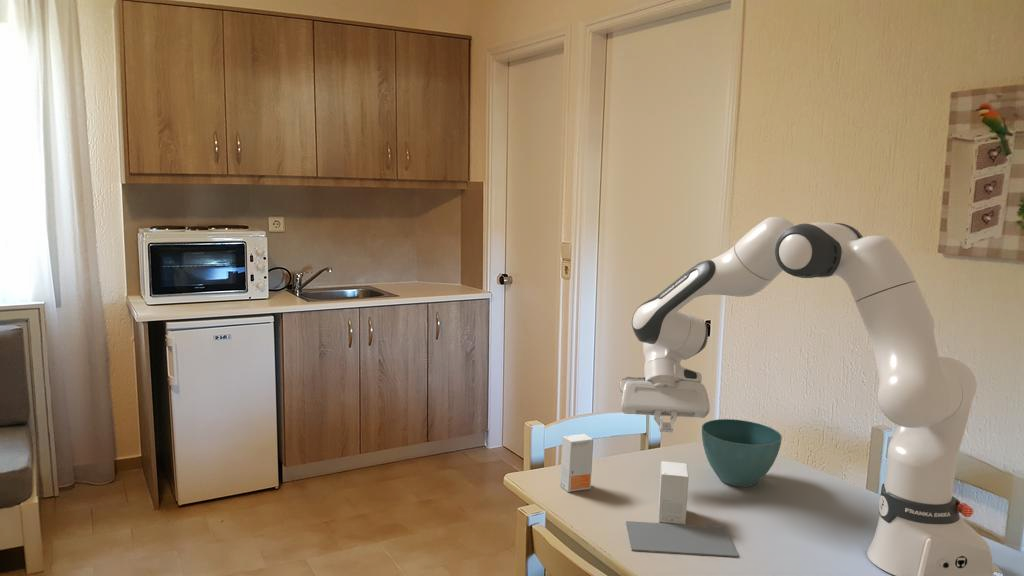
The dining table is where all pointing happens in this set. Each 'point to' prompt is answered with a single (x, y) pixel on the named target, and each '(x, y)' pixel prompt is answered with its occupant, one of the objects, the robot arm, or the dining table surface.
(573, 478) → the skincare box
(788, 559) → the dining table surface
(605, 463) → the dining table surface
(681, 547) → the mat
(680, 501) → the small box
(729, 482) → the teal bowl
